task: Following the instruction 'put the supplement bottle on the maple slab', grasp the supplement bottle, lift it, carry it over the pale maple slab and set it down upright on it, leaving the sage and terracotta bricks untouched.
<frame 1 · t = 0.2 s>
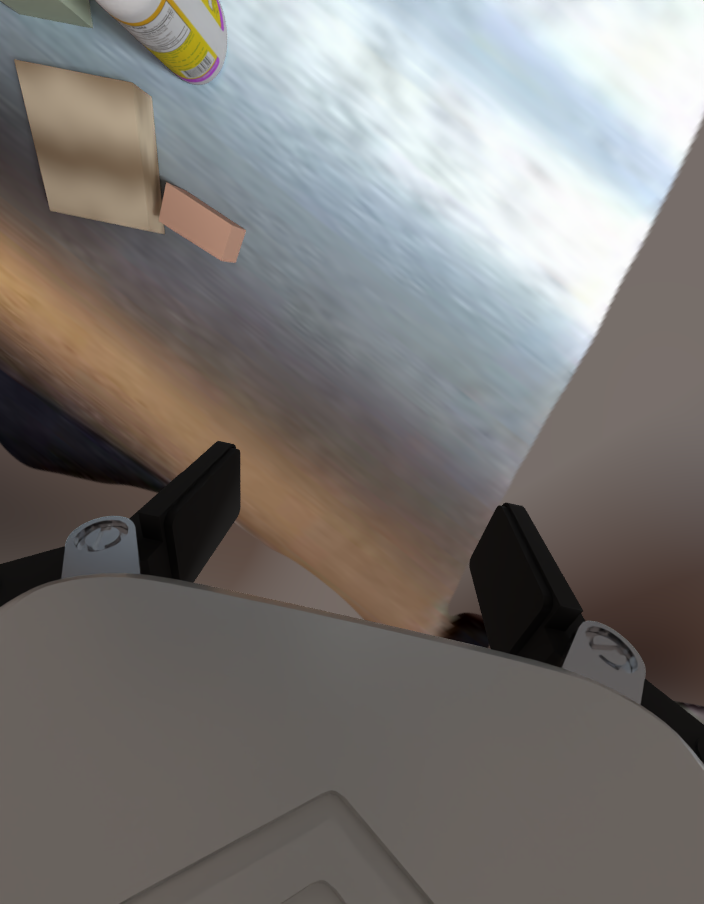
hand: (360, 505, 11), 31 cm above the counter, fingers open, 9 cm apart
supplement bottle: (195, 37, 28), on the counter
maple slab: (108, 161, 33), on the counter
terracotta brick: (212, 228, 35), on the counter
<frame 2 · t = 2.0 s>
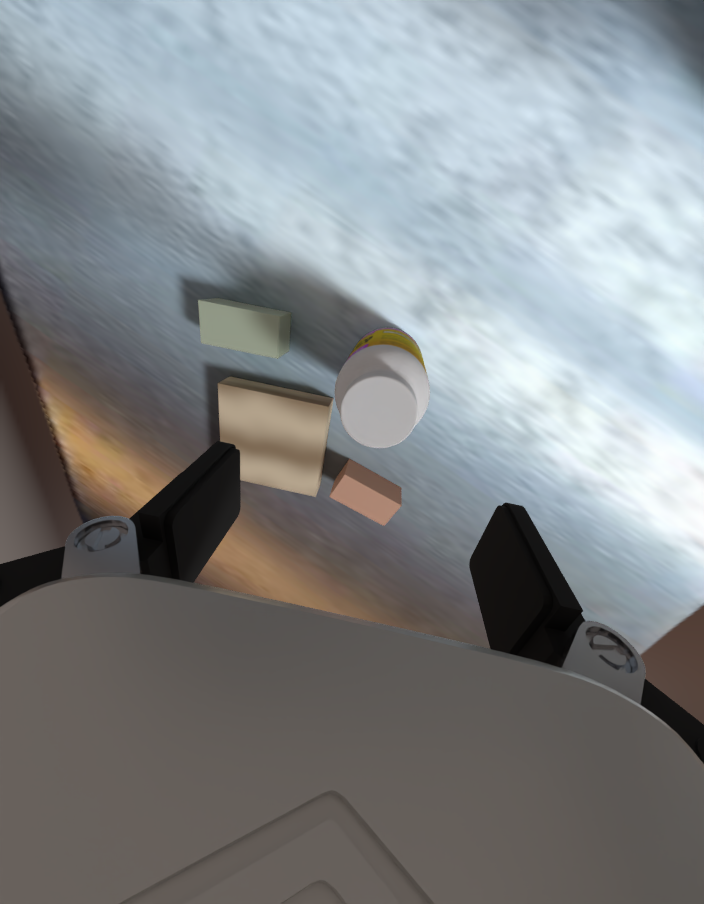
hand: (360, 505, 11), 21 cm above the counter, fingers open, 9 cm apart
supplement bottle: (386, 363, 30), on the counter
sage brick: (255, 325, 30), on the counter
maple slab: (278, 434, 35), on the counter
terracotta brick: (367, 482, 37), on the counter
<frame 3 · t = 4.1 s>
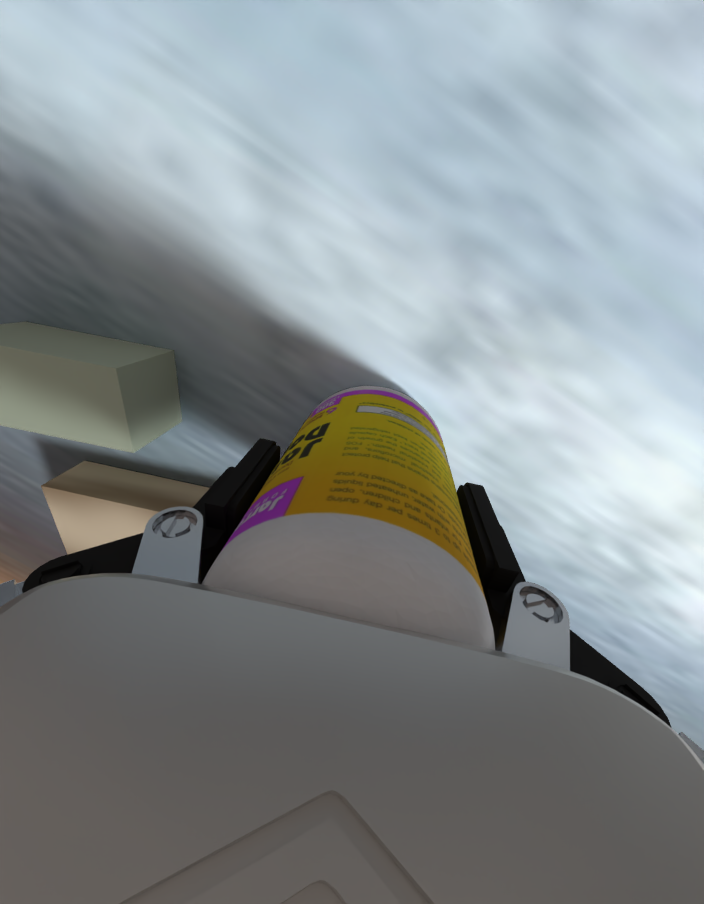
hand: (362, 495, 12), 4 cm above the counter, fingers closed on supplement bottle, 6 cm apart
supplement bottle: (370, 447, 15), on the counter, touching gripper
sage brick: (110, 372, 15), on the counter
maple slab: (187, 550, 20), on the counter
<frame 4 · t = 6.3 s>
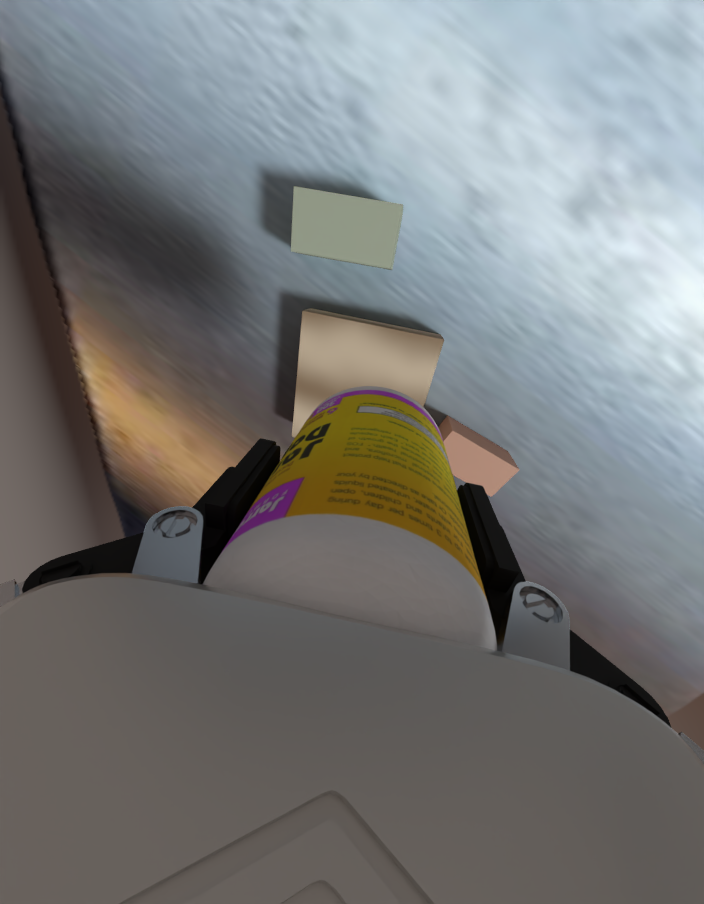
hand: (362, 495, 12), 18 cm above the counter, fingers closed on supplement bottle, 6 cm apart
supplement bottle: (370, 447, 15), point 15 cm above the counter, touching gripper
sage brick: (351, 235, 24), on the counter
maple slab: (362, 384, 29), on the counter
terracotta brick: (465, 446, 31), on the counter
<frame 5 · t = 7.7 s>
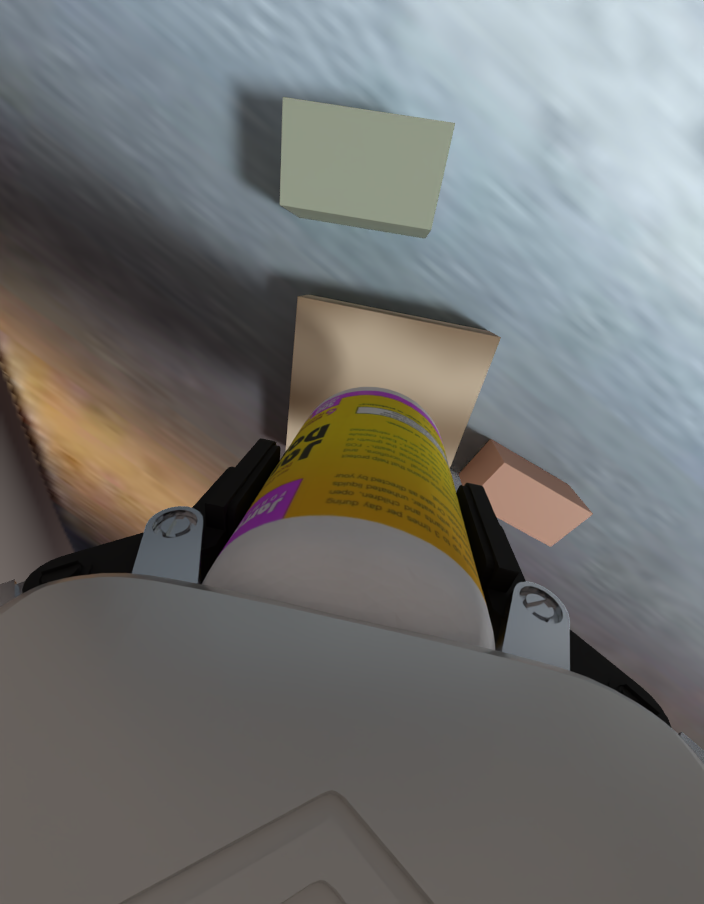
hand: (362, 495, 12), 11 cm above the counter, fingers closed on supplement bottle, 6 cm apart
supplement bottle: (370, 448, 15), point 7 cm above the counter, touching gripper
sage brick: (367, 188, 16), on the counter
maple slab: (378, 398, 22), on the counter
terracotta brick: (511, 477, 23), on the counter
when the fingers open (7 cm above the counter, at t = 8.9 s): supplement bottle drops 1 cm, resting on maple slab.
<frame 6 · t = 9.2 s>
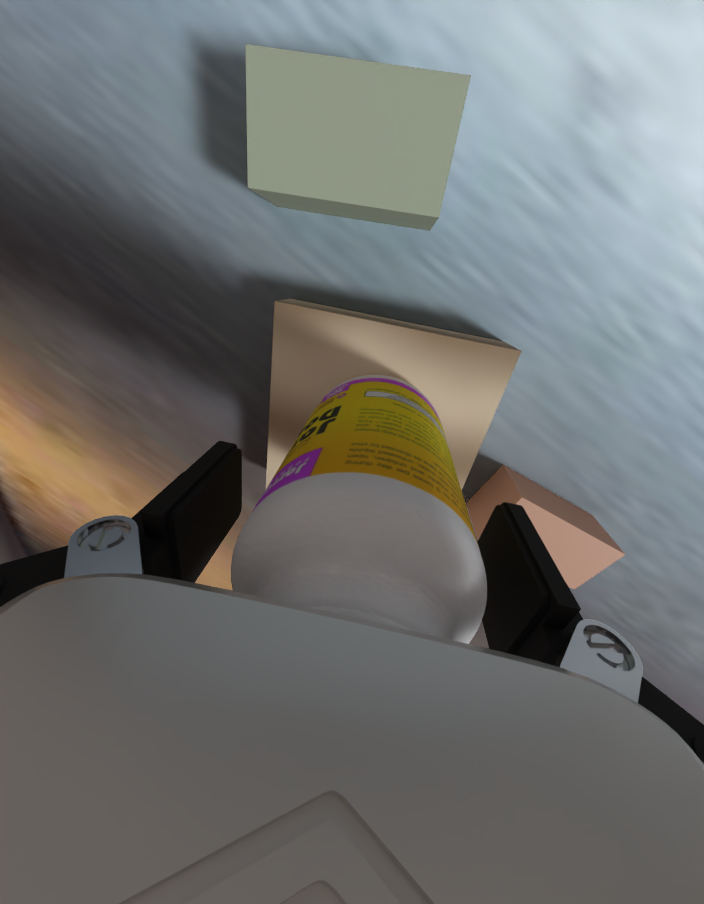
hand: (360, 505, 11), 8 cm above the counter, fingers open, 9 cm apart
supplement bottle: (374, 433, 16), point 2 cm above the counter, touching maple slab
sage brick: (359, 169, 14), on the counter
maple slab: (374, 418, 19), on the counter
terracotta brick: (526, 507, 21), on the counter
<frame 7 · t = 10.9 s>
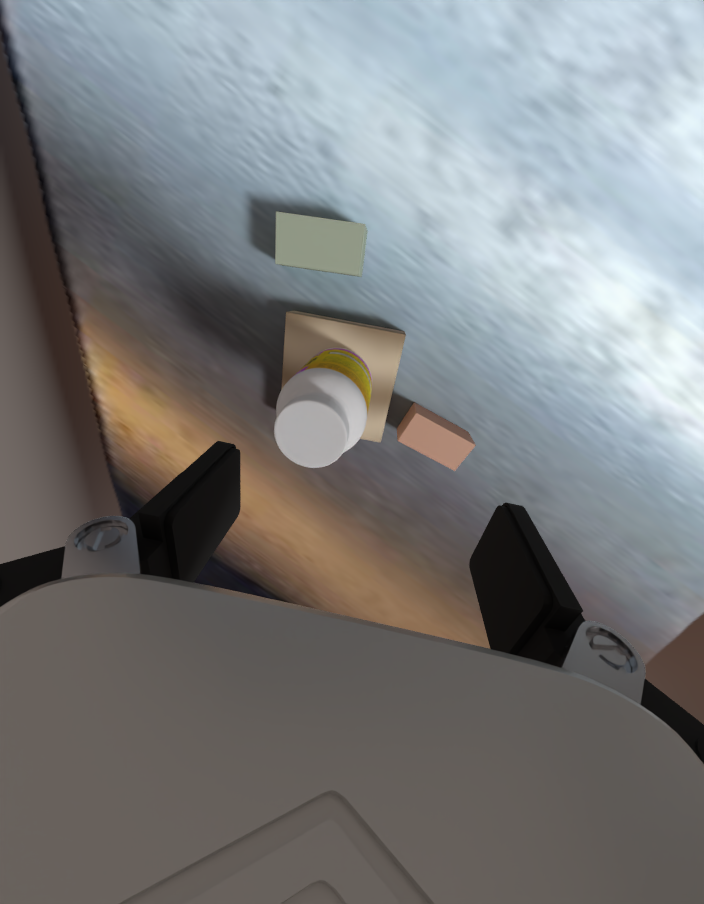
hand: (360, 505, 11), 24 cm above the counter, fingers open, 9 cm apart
supplement bottle: (339, 380, 31), point 2 cm above the counter, touching maple slab
sage brick: (326, 249, 28), on the counter
maple slab: (340, 376, 33), on the counter
terracotta brick: (432, 429, 35), on the counter
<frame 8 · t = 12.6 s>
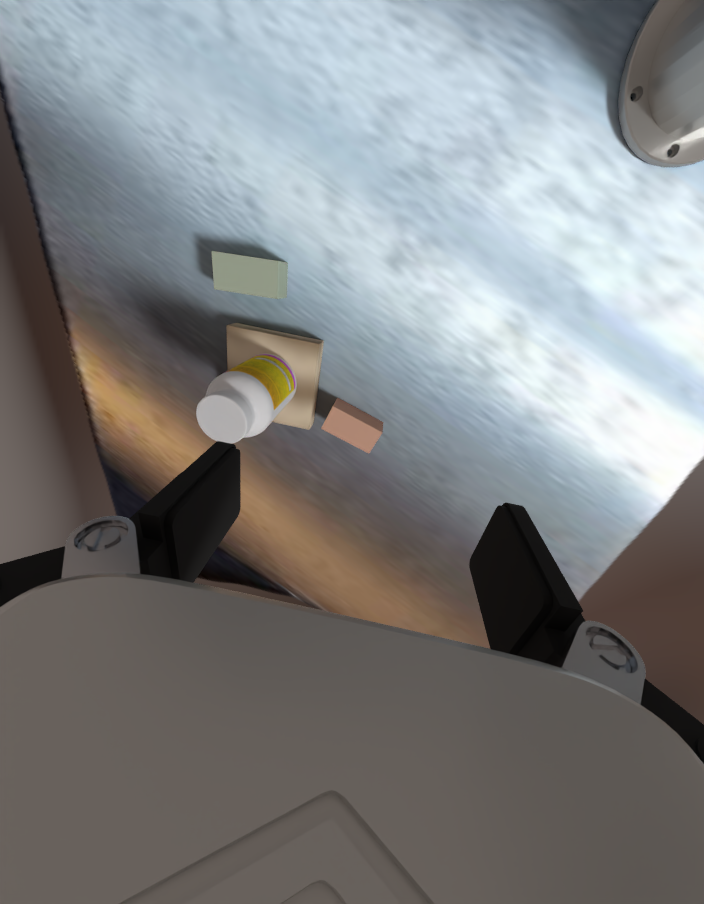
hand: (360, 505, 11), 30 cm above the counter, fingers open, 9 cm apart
supplement bottle: (272, 379, 39), point 2 cm above the counter, touching maple slab
sage brick: (257, 276, 36), on the counter
maple slab: (277, 375, 41), on the counter
terracotta brick: (354, 420, 43), on the counter
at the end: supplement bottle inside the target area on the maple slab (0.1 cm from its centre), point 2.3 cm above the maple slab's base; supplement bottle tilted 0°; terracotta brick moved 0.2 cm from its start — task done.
